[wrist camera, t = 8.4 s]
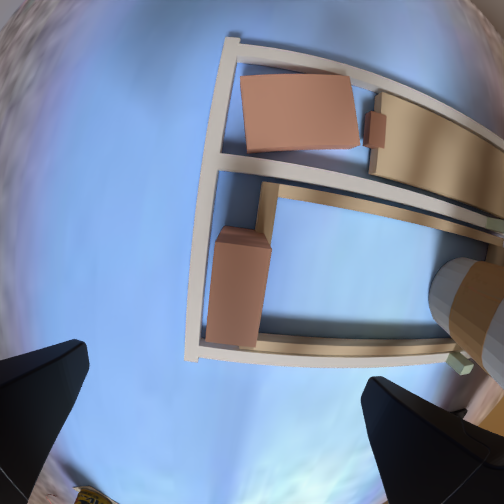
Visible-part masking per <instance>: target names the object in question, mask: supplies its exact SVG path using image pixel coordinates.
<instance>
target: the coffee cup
mask: <svg viewBox="0 0 504 504" xmlns="http://www.w3.org/2000/svg"><path fill="white" fill-rule="evenodd" d="M429 308H430V311H431V314H432V317H433V319H434V320H435V321H436V323H437V324H439V325H440V326H441V327H442V328H443V329H444V330H445V331H446V332H447V333H448V334H449V335H450V336H451V337H452V339H453V340H454V341H455V342H456V343H457V344H458V345H459V346H460V347H461V348H462V349H463V350H464V351H465V352H466V353H467V354H468V355H469V356H470V357H471V358H472V359H473V360H474V361H475V362H476V363H477V364H478V365H479V366H480V367H481V368H482V369H483V370H484V371H485V372H486V373H487V374H488V375H489V376H491V377H492V378H493V379H494V380H495V381H496V382H497V383H498V384H499V385H500V386H501V387H502V388H503V389H504V267H503V266H499V265H495V264H492V263H488V262H484V261H476V260H473V259H469V258H465V257H459V258H456V259H452V260H450V261H449V262H447V263H446V264H445V265H443V266H442V267H441V268H440V270H439V271H438V273H437V274H436V276H435V278H434V280H433V282H432V285H431V288H430V292H429Z"/></svg>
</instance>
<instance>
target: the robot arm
mask: <svg viewBox="0 0 504 504" xmlns="http://www.w3.org/2000/svg"><path fill="white" fill-rule="evenodd" d="M88 370H89V357H88V351H87V345H86V343H85V342H83V341H80V340H77V339H72V340H69V341H66V342H62V343H59V344H56V345H52V346H49V347H46V348H42V349H39V350H35V351H32V352H29V353H25V354H22V355H18V356H15V357H11V358H8V359H4V360H0V504H27V503H28V500H29V497H30V495H31V492H32V490H33V488H34V485H35V483H36V481H37V478H38V476H39V474H40V472H41V470H42V467H43V465H44V463H45V461H46V459H47V457H48V455H49V452H50V450H51V448H52V446H53V444H54V442H55V440H56V438H57V436H58V434H59V432H60V430H61V429H62V427H63V425H64V423H65V421H66V419H67V417H68V415H69V413H70V412H71V410H72V408H73V406H74V404H75V401H76V399H77V397H78V394H79V392H80V389H81V387H82V384H83V382H84V380H85V377H86V375H87V373H88ZM361 406H362V410H363V415H364V419H365V424H366V429H367V434H368V438H369V441H370V445H371V448H372V451H373V454H374V457H375V460H376V463H377V466H378V470H379V473H380V476H381V479H382V483H383V486H384V489H385V493H386V496H387V499H388V503H389V504H504V437H503V436H500V435H498V434H495V433H492V432H490V431H487V430H485V429H482V428H480V427H478V426H476V425H474V424H471V423H469V422H467V421H465V420H463V418H464V416H465V415H466V413H467V411H468V410H467V409H463V410H459V411H456V412H453V413H449V412H447V411H445V410H444V409H442V408H440V407H438V406H436V405H434V404H432V403H430V402H428V401H426V400H424V399H423V398H421V397H419V396H417V395H415V394H413V393H411V392H410V391H408V390H406V389H404V388H402V387H400V386H399V385H397V384H395V383H393V382H391V381H390V380H388V379H386V378H384V377H382V376H374V377H370V378H369V380H368V382H367V384H366V386H365V389H364V391H363V393H362V396H361Z"/></svg>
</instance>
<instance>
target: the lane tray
mask: <svg viewBox="0 0 504 504" xmlns="http://www.w3.org/2000/svg"><path fill="white" fill-rule="evenodd" d="M237 62H238V63H247V64H255V65H262V66H269V67H275V68H281V69H287V70H292V71H297V72H302V73H307V74H324V75H341V76H349V77H350V82H351V85H353V86H357V87H360V88H363V89H366V90H369V91H372V92H375V93H378V94H379V93H381V92H384V93H387V94H390V95H392V96H395V97H397V98H400V99H402V100H405V101H407V102H410V103H412V104H415V105H417V106H419V107H421V108H424V109H426V110H428V111H430V112H432V113H434V114H437V115H439V116H441V117H443V118H445V119H447V120H449V121H451V122H453V123H454V124H456V125H458V126H460V127H462V128H464V129H466V130H467V131H469V132H471V133H473V134H474V135H476V136H478V137H479V138H481V139H483V140H484V141H486V142H488V143H489V144H491V145H492V146H494V147H495V148H497V149H499V150H500V151H502V152H503V153H504V140H503V139H501V138H500V137H499V136H497V135H496V134H494V133H493V132H491V131H490V130H488V129H487V128H485V127H484V126H482V125H481V124H479V123H477V122H476V121H474V120H472V119H471V118H469V117H467V116H466V115H464V114H462V113H461V112H459V111H457V110H455V109H453V108H451V107H450V106H448V105H446V104H444V103H442V102H440V101H438V100H436V99H434V98H432V97H430V96H428V95H426V94H424V93H422V92H419V91H417V90H415V89H413V88H410V87H408V86H406V85H403V84H401V83H398V82H396V81H393V80H391V79H388V78H386V77H383V76H380V75H378V74H375V73H372V72H369V71H366V70H363V69H360V68H357V67H354V66H350V65H347V64H344V63H340V62H337V61H333V60H329V59H325V58H321V57H317V56H313V55H308V54H304V53H299V52H294V51H289V50H283V49H277V48H271V47H264V46H257V45H248V44H240V38H234V37H225V42H224V46H223V50H222V55H221V60H220V64H219V69H218V74H217V79H216V84H215V89H214V94H213V99H212V105H211V110H210V116H209V121H208V127H207V133H206V139H205V146H204V152H203V159H202V166H201V173H200V180H199V187H198V195H197V203H196V211H195V220H194V229H193V239H192V249H191V259H190V271H189V283H188V297H187V312H186V331H185V354H184V361H190V362H197V363H198V359H199V357H200V358H207V359H214V360H222V361H230V362H239V363H249V364H260V365H273V366H289V367H311V368H372V367H394V366H409V365H421V364H431V363H440V362H446V363H447V364H449V365H450V366H451V367H452V368H453V369H454V370H455V371H456V372H457V373H458V374H459V375H464V374H469V373H470V372H471V370H472V368H473V366H474V364H473V363H472V362H471V361H470V360H468V359H469V358H471V357H470V356H469V355H468V354H467V353H466V352H465V351H464V350H455V351H445V352H433V353H419V354H399V355H319V354H298V353H282V352H270V351H258V350H248V349H239V346H236V345H228V344H220V343H212V342H205V339H206V338H201V330H202V317H203V305H204V294H205V284H206V274H207V264H208V254H209V245H210V237H211V228H212V220H213V212H214V204H215V196H216V189H217V182H218V174H219V171H227V172H235V173H243V174H250V175H257V176H264V177H271V178H277V179H284V180H290V181H296V182H301V183H307V184H312V185H318V186H323V187H328V188H333V189H338V190H343V191H348V192H353V193H357V194H362V195H366V196H371V197H375V198H379V199H383V200H387V201H391V202H395V203H399V204H403V205H407V206H411V207H415V208H418V209H422V210H426V211H429V212H433V213H436V214H440V215H443V216H446V217H450V218H453V219H456V220H460V221H463V222H466V223H469V224H472V225H475V226H478V227H481V228H484V229H487V230H490V231H493V232H495V233H498V234H501V235H504V220H500V219H495V218H490V217H486V216H484V215H481V214H478V213H476V212H473V211H470V210H468V209H465V208H462V207H459V206H456V205H453V204H450V203H448V202H445V201H442V200H438V199H435V198H432V197H429V196H426V195H423V194H419V193H416V192H413V191H409V190H406V189H402V188H399V187H395V186H391V185H388V184H384V183H380V182H376V181H372V180H368V179H364V178H360V177H356V176H352V175H347V174H343V173H338V172H334V171H329V170H324V169H319V168H314V167H309V166H303V165H298V164H292V163H287V162H281V161H274V160H268V159H261V158H255V157H247V156H240V155H232V154H223V153H222V147H223V141H224V134H225V128H226V122H227V116H228V110H229V104H230V99H231V93H232V87H233V82H234V77H235V71H236V66H237Z"/></svg>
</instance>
